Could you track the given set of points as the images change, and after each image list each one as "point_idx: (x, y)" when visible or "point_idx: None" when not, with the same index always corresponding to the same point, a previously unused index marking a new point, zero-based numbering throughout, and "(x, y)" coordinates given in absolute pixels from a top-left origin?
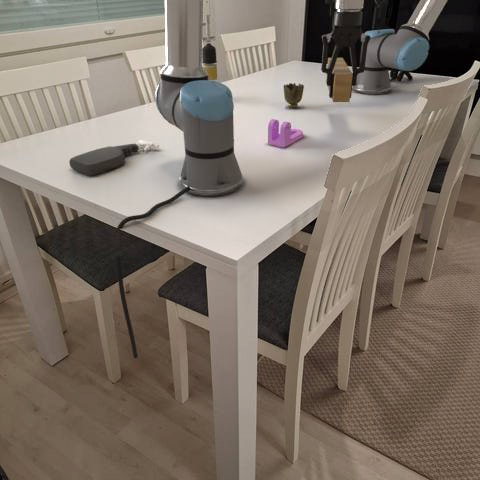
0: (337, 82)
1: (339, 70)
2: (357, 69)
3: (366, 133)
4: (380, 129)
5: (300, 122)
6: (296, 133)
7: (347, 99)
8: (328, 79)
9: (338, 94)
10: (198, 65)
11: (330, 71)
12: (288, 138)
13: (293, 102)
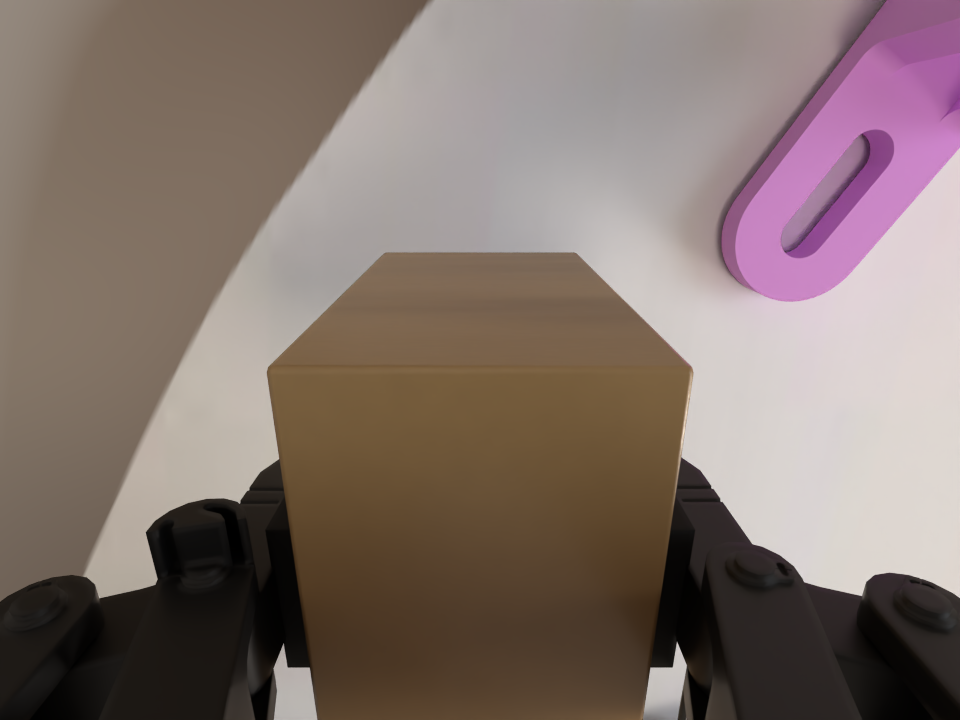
0: (590, 311)
1: (537, 688)
2: (138, 628)
3: (277, 320)
4: (185, 400)
5: None
6: (792, 197)
7: (406, 258)
8: (708, 510)
9: (529, 267)
10: None
11: (758, 593)
12: (911, 4)
13: None
